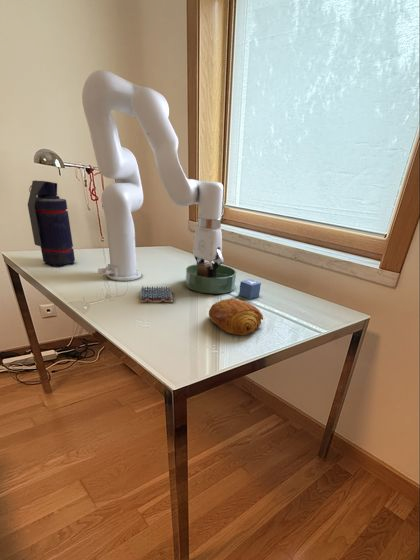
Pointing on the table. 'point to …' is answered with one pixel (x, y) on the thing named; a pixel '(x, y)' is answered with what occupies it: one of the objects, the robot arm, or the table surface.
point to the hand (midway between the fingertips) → (206, 277)
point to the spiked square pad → (156, 294)
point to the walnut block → (203, 269)
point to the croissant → (235, 316)
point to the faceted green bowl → (211, 280)
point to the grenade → (50, 223)
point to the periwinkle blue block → (249, 289)
